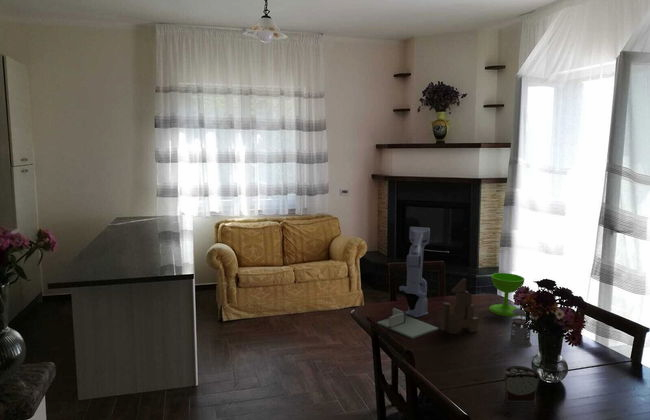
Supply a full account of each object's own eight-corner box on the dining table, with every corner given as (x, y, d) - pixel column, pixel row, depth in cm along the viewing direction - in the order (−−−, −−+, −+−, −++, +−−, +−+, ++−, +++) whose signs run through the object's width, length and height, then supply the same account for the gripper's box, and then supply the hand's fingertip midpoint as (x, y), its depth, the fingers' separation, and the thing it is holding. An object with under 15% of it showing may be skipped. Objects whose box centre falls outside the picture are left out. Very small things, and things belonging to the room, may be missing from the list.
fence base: (394, 317, 233) (394, 307, 232) (405, 322, 227) (406, 312, 226) (392, 318, 232) (392, 308, 231) (404, 323, 226) (404, 312, 225)
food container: (530, 392, 167) (532, 365, 165) (538, 401, 160) (541, 373, 159) (495, 392, 166) (497, 364, 165) (502, 401, 160) (504, 373, 159)
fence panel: (401, 321, 227) (402, 312, 226) (403, 322, 226) (404, 313, 225) (389, 326, 221) (389, 316, 220) (391, 327, 220) (391, 317, 219)
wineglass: (482, 307, 253) (484, 274, 251) (507, 304, 258) (510, 272, 256) (502, 317, 238) (504, 282, 236) (528, 314, 243) (531, 280, 240)
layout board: (402, 315, 238) (403, 314, 238) (438, 329, 221) (438, 327, 221) (376, 323, 227) (377, 321, 227) (412, 338, 210) (412, 337, 210)
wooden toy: (469, 326, 226) (473, 275, 222) (477, 331, 219) (481, 279, 216) (439, 328, 222) (442, 276, 219) (446, 334, 216) (450, 280, 212)
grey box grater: (506, 344, 206) (510, 288, 203) (509, 335, 216) (513, 281, 213) (531, 349, 202) (535, 292, 198) (533, 339, 212) (538, 285, 208)
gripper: (395, 278, 220) (394, 306, 222) (419, 285, 208) (418, 315, 210) (405, 275, 224) (404, 303, 226) (430, 283, 213) (428, 312, 215)
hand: (411, 309), depth 218 cm, fingers closed
